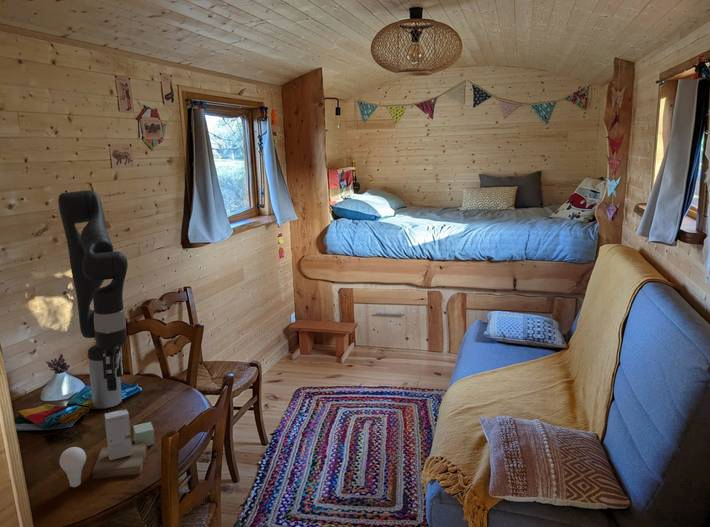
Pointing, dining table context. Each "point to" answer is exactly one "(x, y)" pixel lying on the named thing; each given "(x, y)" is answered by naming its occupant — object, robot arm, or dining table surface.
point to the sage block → (144, 433)
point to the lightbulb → (73, 464)
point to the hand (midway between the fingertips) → (115, 383)
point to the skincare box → (118, 434)
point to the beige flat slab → (120, 462)
